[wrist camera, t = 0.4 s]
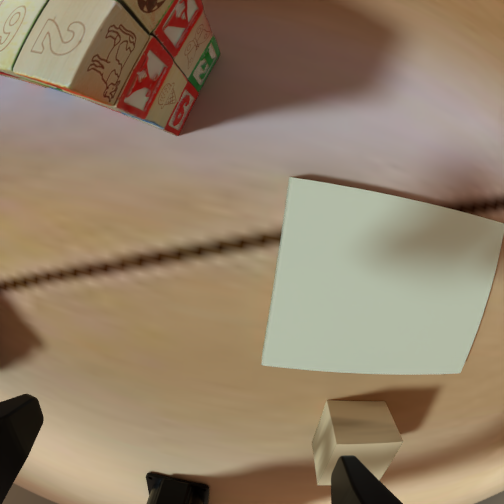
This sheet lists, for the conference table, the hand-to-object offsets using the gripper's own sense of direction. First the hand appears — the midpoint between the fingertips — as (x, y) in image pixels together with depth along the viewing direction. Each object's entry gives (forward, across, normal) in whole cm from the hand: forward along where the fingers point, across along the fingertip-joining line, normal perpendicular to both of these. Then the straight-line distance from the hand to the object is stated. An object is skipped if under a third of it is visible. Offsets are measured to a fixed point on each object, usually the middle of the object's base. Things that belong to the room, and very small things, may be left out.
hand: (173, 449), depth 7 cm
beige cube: (+14, -11, +11) cm, 20 cm away
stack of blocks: (+14, +13, -16) cm, 25 cm away
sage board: (+14, -11, -1) cm, 17 cm away
